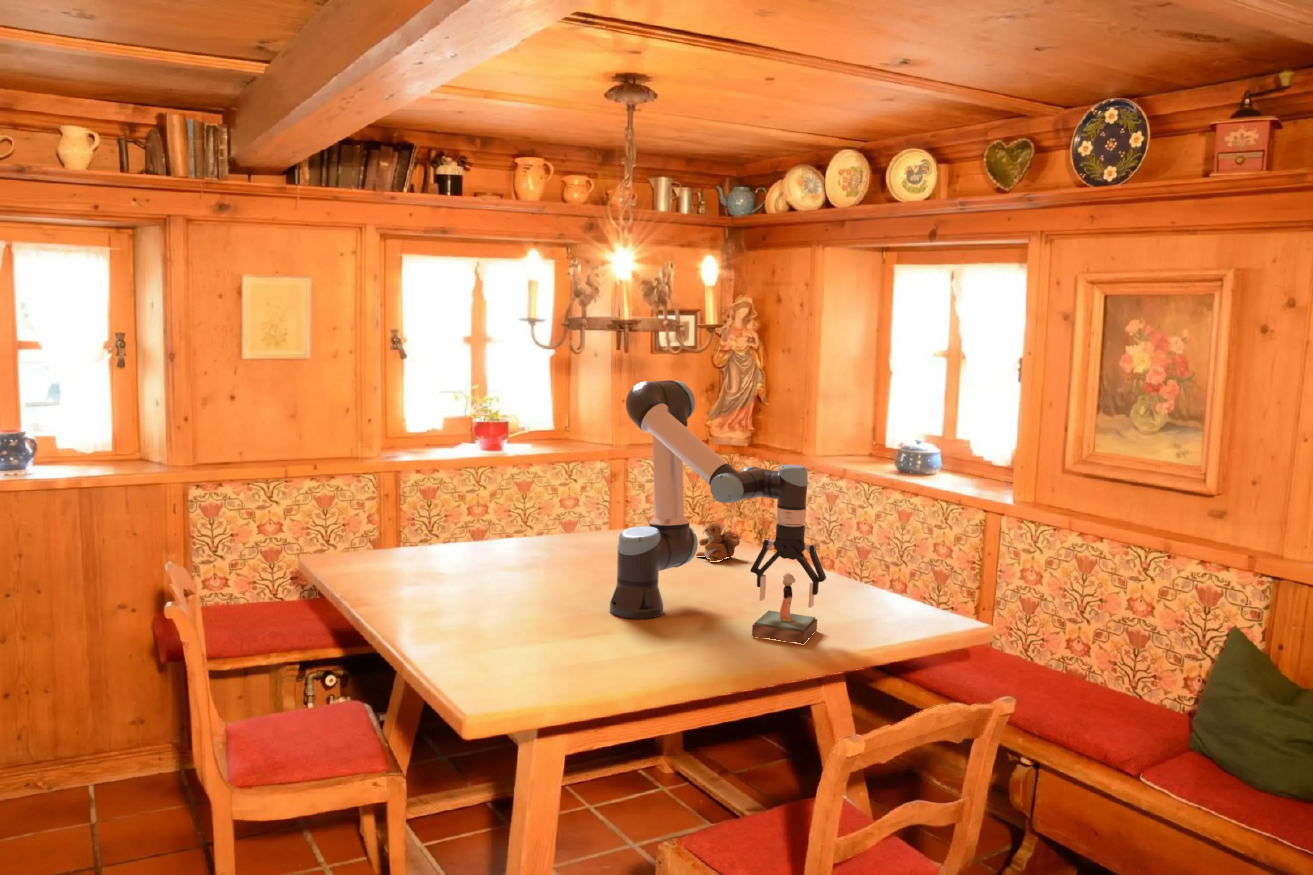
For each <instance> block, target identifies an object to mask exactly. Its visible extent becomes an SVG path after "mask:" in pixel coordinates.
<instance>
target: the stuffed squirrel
mask: <svg viewBox="0 0 1313 875" xmlns="http://www.w3.org/2000/svg"><path fill="white" fill-rule="evenodd" d="M724 529H725V526H724V525H721V524H720V523H718V522H716V521H712V522H710V523H709V524H708V525H707V526H706V527H705V528H704V530H703V531H702V535H704V534H705V535H706V536H707V537H705V538H700V539H699V542H698V544H699V545H700V546H701V547H703V546H704V551H703V552H701V551H699V552H696V554H695V556H705V557H707V558H710V559H709V560H710V561H717V560H722V559H724V558H726V557H731V556H732V557H734V555H735V551H736V550H735V549H736V547H738V546H739V545H740V543H741V541H740V540H741V539H742V537H740V536H739V534H737V533H736V532H734V531H731V530H729V531H724V532H723V533H722V531H723V530H724ZM732 557H731V558H732ZM709 560H708V561H709ZM710 561H709V562H710Z"/></svg>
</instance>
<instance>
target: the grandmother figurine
mask: <svg viewBox="0 0 1313 875" xmlns="http://www.w3.org/2000/svg"><path fill="white" fill-rule="evenodd" d="M782 577H783V578H782V579H783V580H782V583H783V586H784V587H783V592H782V593H783V596H782V601H781V604H780V608H779V612H780V613H779V617H780V618H782V619H781V621H784V622H791V621H792V620H791V618H790V614H791V606H792V602H793V601H792V600H793V589H792V585H793V584H794V583H795V582H796V578H795V577H794V575H793V574H791V573H790V572H785V573H784V574H783V576H782Z"/></svg>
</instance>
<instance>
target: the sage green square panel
mask: <svg viewBox="0 0 1313 875" xmlns="http://www.w3.org/2000/svg"><path fill="white" fill-rule="evenodd" d="M779 613H780V611H777V610H770V609H769V610H768V611H766V612H765V613H764V614H762V615H761V617H759V618H758V619H757V620H756V621H755V622H754V623H753V624H752V625H751V626H752V628H751V637H752V636H753V637H758V638H770V639H776V640H781V641H786V642H797V643H801V644H804V643H805V642H806V641H807V640H808V638H810V637H811V636H812V634H813V633H814V632H815V631H816V630H817V631H818V619H817V618H816V617H815V616H811V615H803V614H798V613H797V614H796V613H790V618H791V620H792V621H791V622H784V621H781V619H782V618H780V617H779ZM817 631H816V632H817ZM812 637H813V636H812ZM812 637H811V638H812ZM758 638H757V639H758ZM811 638H810V639H811ZM808 641H809V640H808Z"/></svg>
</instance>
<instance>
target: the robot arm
mask: <svg viewBox="0 0 1313 875" xmlns="http://www.w3.org/2000/svg"><path fill="white" fill-rule="evenodd" d="M625 408H626V412H627V414H628V417H629V419H631V421H632V422H633V423H634V424H635V425H636V426H637V428H639V429H640V430H641V431H642V432H643V433H646V434H651V435H652V454H653V455H652V457H653V459H652V461H653V462H652V463H653V466H652V467H653V502H654V503H653V507H654V508H653V510H654V511H653V513H654V515H653V517H652V518H651V519H650V520H649V522H648V524H649V526H648V525H647V526H646V525H640V526H631V527H629V528H626V529H624V530H622V531H621V532H620V533H619V536H618V543H617V547H616V548H617V560H616V561H617V562H616V563H617V567H616V568H617V569H616V570H617V571H616V585H615V588H614V590H613V594H612V596H611V599H610V602H609V612H610V613H611V614H613V615H614V616H616V617H620V618H626V619H635V620H636V619H637V620H638V619H640V620H642V619H644V620H645V618H646V619H652V618H651V617H653V618H656V617H655V616H657V617H660V616H661V614H662V613H663V614H664V602H663V598H662V595H661V591H660V588H659V577H660V576H659V572H661V571H664V570H669V569H673V568H679V567H681V566H684V565H685V564H686V565H687V564H688V563H689V562H691V561H692V560H693V558H694V557H695V556H696V554H697V550H698V546H699V545H698V544H699V542H698V536H697V534H696V533H695V530H694V529H693V528H692V527H691V526H690V520H689V519H688V518H687V517H686V516H685V503H684V502H685V501H684V498H685V497H684V493H685V492H684V490H685V489H684V464H685V465H686V466H687V467H689V468H690V469H691V470H692V472H695V474H697V475H698V476H699V478H701V479H702V480H703V481H704V482H705V483H706V484H708V485H709V491H710V493H711V496H712V498H713V499H714V500H715V501H716V502H718V503H721V504H726V503H727V504H730V503H737V502H740V501H745V500H751V499H756V498H767V499H773V500H777V506H776V522H777V523H776V525H775V539H774V540H771V539H770V538H769V537H768V538H766V539H765V540H763V543H762V548H761V549H760V552H759V554H758V556H757V558H756V559H755V561H754V562H753V564H752V566H751V568H750V573H752V574H753V573H754V574H755V575H756V587H757V588H759V601H761V602H763V601H764V600H765V599H766V589H767V588H766V587H767V586H766V585H767V583H766V582H767V574H764V573H765V572H766V571H767V570H768V569H769V568H770V567H771V566H772V565H773V564H774V563H775V562H776V561H777V559H779V558H781V559H786V560H787V559H789V560H793V561H794V560H796V561H797V562H798V563H800V564H799V565H801V567H802V568H803V570H804V571H805V572H806V574H807V575H808V577H809V579H810V580H811V581H810V582H809V588H808V589H809V590H808V591H809V592H808V608H812V607H813V606H814V605H815V604H814V602H815V596H817V595H818V594H819V585H820V584H819V583H821V582H822V583H823V582H824V581H826V579H827V576H826V573H825V570H824V568H823V566H822V564H821V560H820V558H819V556H818V553H817V545H816V544H815V543H812V544H806V543H805V534H806V533H805V532H806V526H805V524H806V519H807V517H806V515H807V514H806V512H807V495H808V494H807V493H808V485H809V482H808V481H809V480H808V468H806V467H805V466H804V465H800V464H792V463H791V464H781V465H780V466H779V469H778V470H774V469H767V468H761V467H757V466H746V467H743V468H742V469H741V470H740V471H737V470H736V469H735V468H734V467H733V466H731V465H730V464H729V463H728V462H726V461H725V460H724V459H723V458H722V457H721V456H720V455H718V454H717V453H716V452H715V451H714V449H712V448H710V447H709V446H708V444H706V442H703V440H701V439H700V438H699V437H698V436H697V435H696V434H695V433H694V432H692V431H691V430H690V429H689V428H688V420H689V418H690V417H691V416H692V415H693V413H694V411H695V408H696V399H695V396H694V393H693V391H692V389H691V387H690V386H688V385H687V384H686V383H684V382H682V381H679V380H671V379H667V380H652V381H650V380H648V381H647V380H645V381H641V382H638V383H637V384H635V385H634V386H632V387H631V388H630V390H629V391H628V393H627V395H626V399H625ZM772 546H773V548H774V550H776V551H775V553H774V554H773V555H772V556H771V557H769V559H768V560H767V562H765V563H764V564H763V565H762V566H761V568H760V565H761V564H762V561H763V559H764V558H765V557H766V555H767V552H769V549H770V548H772ZM805 550H806V551H807V553H808V554H809V556H810V559H811V562H812V565H813V567H814V569H815V570H814V569H813V567H812V566H811V564H810V563H809V562H808V560H807V559H806V556H805V554H804V553H803V552H804V551H805ZM663 614H662V615H663Z"/></svg>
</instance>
